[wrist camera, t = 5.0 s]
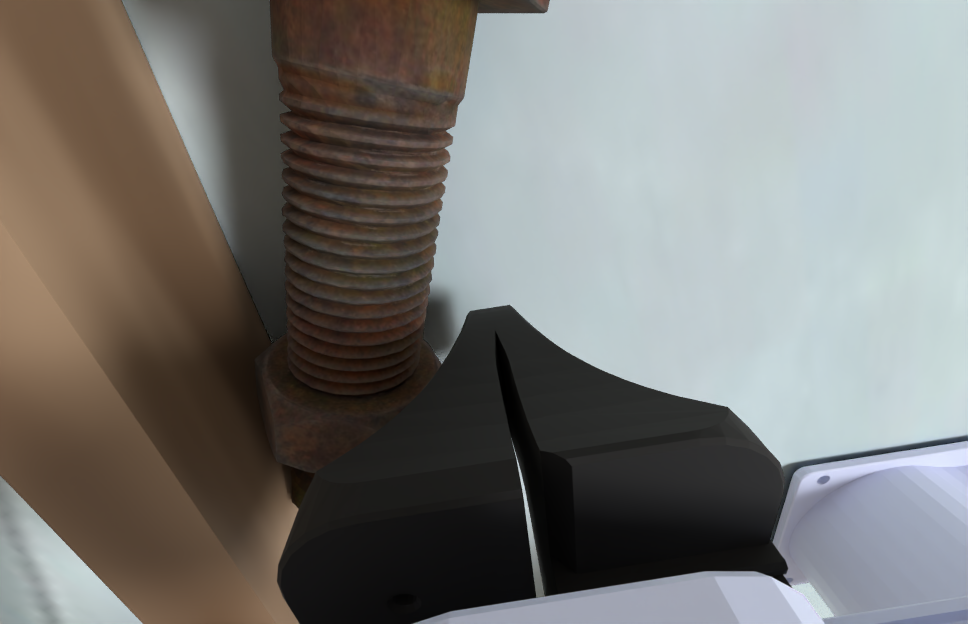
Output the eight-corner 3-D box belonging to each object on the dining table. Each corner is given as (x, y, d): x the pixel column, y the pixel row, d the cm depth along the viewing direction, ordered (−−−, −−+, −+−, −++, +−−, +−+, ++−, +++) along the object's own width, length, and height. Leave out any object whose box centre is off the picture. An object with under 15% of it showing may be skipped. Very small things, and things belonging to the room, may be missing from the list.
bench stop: (82, -89, 8) (-1090, -690, 2) (360, 547, 17) (311, 793, 11) (-72, -66, 8) (-1769, -607, 2) (289, 558, 17) (200, 811, 11)
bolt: (348, 412, 16) (378, -84, 9) (459, 473, 15) (591, -65, 8) (203, 527, 12) (39, -321, 5) (344, 635, 10) (424, -384, 3)
